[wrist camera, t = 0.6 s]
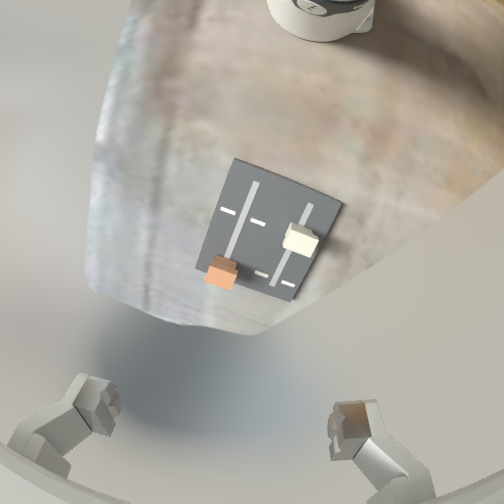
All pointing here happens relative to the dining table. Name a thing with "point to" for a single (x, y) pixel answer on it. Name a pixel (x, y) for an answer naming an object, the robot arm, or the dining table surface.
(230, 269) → the terracotta fader
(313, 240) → the cream fader
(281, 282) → the console
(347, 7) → the robot arm
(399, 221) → the dining table surface
